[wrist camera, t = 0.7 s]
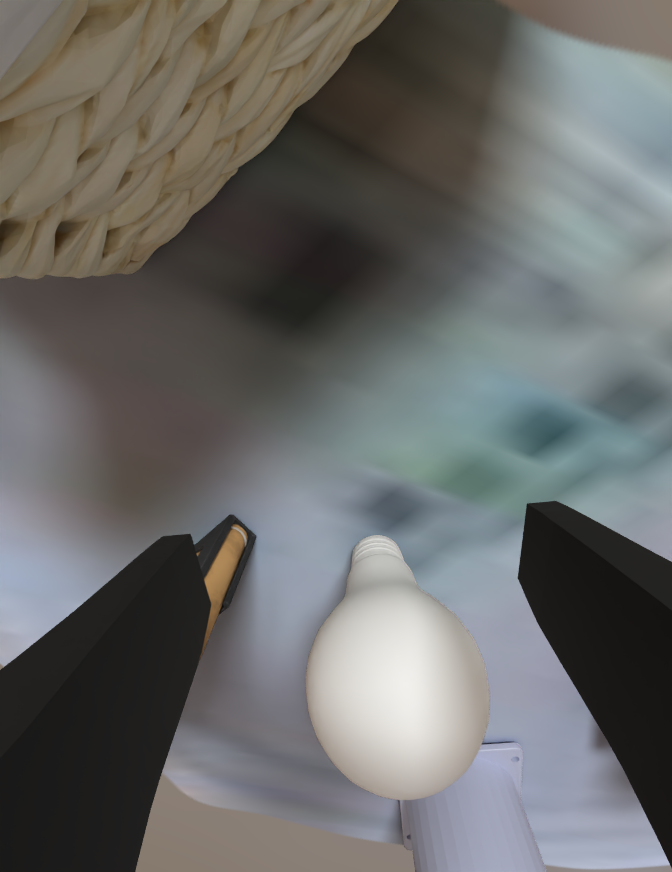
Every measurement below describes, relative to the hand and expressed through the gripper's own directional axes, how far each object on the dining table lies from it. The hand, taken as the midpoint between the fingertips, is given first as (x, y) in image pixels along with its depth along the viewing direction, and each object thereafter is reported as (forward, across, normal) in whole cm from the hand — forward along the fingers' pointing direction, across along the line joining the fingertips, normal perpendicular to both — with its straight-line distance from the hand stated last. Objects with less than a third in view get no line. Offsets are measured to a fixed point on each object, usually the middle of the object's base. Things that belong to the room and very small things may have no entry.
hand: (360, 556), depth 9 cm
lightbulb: (+10, -1, +8) cm, 13 cm away
